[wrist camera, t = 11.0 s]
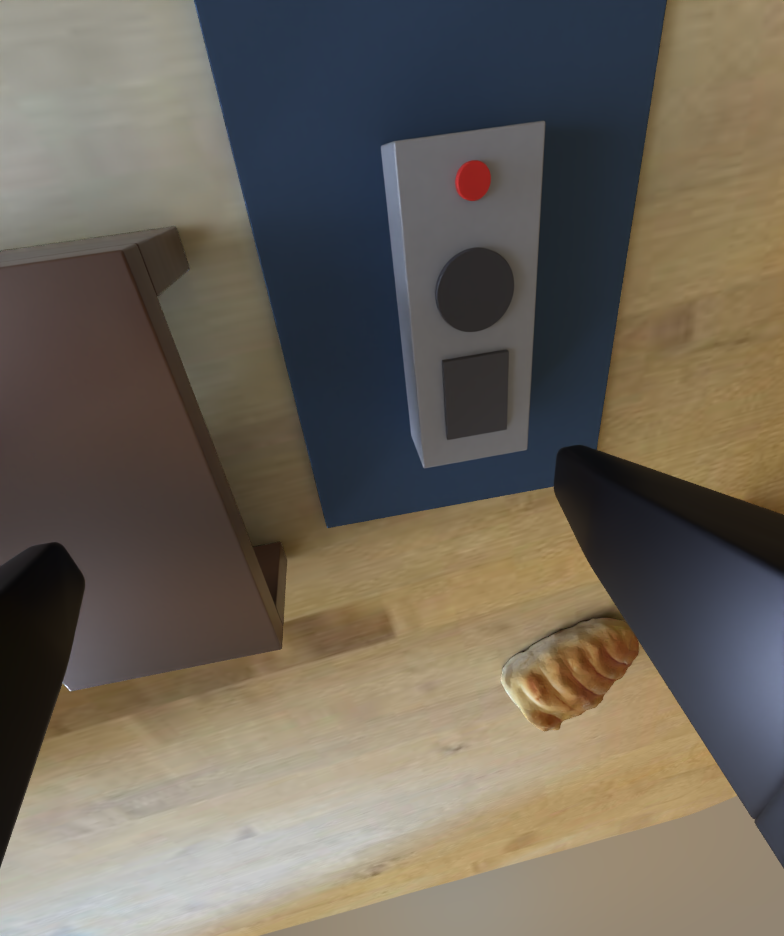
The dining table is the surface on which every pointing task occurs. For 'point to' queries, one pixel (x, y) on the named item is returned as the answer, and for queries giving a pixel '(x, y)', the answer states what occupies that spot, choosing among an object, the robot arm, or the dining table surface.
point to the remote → (466, 284)
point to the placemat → (366, 217)
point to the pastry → (569, 670)
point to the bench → (123, 464)
